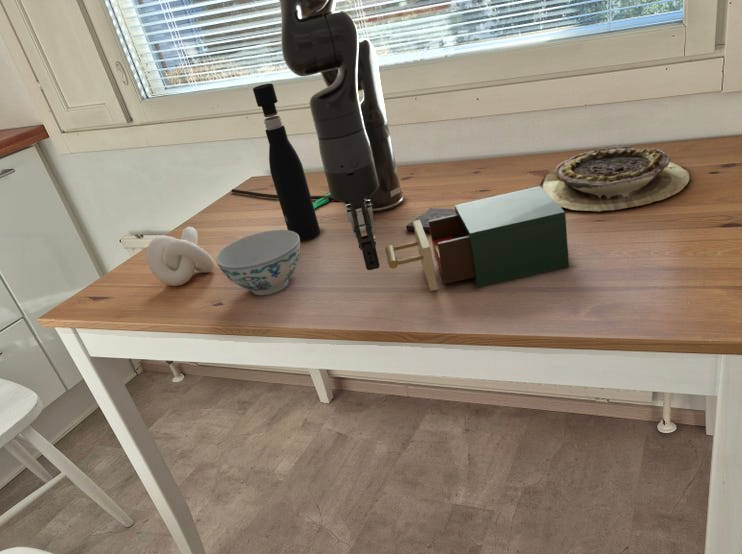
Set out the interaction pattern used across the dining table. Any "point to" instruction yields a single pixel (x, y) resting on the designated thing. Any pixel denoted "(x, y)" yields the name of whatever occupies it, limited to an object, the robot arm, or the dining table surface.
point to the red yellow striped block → (436, 250)
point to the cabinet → (515, 235)
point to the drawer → (440, 250)
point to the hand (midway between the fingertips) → (373, 267)
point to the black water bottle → (287, 170)
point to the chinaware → (261, 260)
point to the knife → (321, 201)
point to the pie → (614, 179)
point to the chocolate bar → (430, 217)
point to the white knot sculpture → (177, 258)
